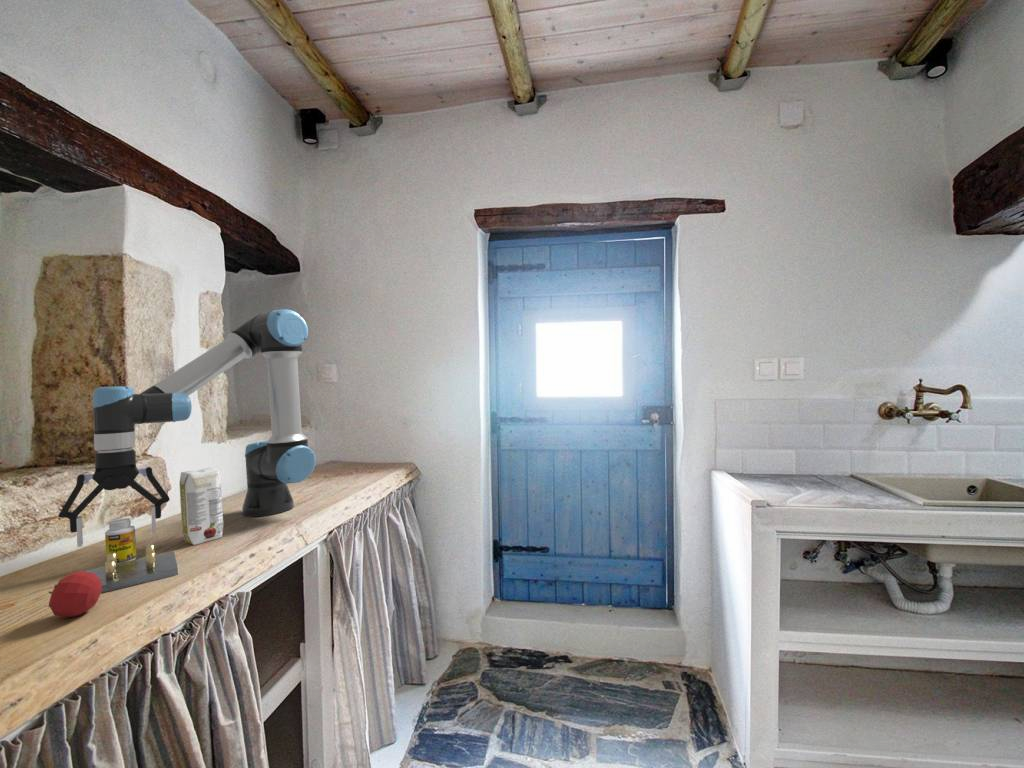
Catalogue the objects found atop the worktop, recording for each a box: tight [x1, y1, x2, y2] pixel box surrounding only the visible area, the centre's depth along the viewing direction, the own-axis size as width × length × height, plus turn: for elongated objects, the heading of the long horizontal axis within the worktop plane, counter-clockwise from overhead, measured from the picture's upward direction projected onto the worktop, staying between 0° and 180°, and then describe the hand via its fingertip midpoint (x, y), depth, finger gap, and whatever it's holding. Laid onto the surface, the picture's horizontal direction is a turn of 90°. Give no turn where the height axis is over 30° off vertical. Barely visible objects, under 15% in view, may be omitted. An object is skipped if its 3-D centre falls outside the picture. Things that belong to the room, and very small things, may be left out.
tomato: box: [48, 570, 102, 619], centre depth 87 cm, size 8×8×8 cm
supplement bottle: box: [104, 517, 137, 564], centre depth 113 cm, size 6×6×10 cm
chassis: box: [85, 544, 179, 594], centre depth 104 cm, size 16×14×5 cm
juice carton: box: [178, 467, 224, 546], centre depth 127 cm, size 8×9×19 cm
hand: (118, 538), depth 113 cm, fingers open, 13 cm apart
